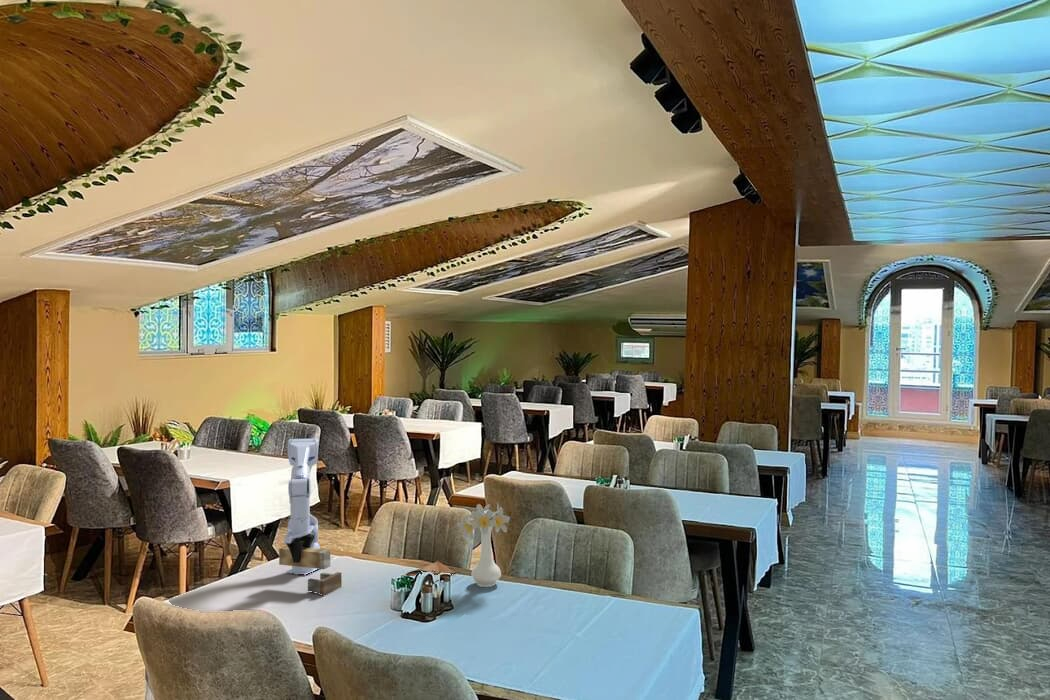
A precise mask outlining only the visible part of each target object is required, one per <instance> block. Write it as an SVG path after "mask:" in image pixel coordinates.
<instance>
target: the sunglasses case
mask: <svg viewBox="0 0 1050 700" xmlns="http://www.w3.org/2000/svg"><path fill="white" fill-rule="evenodd" d="M421 571H423V572H431V573H433V574H434V575H438V574H440V573H442V572H443V573H450V574H451V576H453V575H452V574H454V575H455V574H456V572H455V571H454V570H451V569H450V568H449V567H447V565H445V564H443V563H441V562H440V560H436V561H435V562H433V563H430V564H427V565H425V566H422V567H420V568H417V569H415V570H411V571H408V572H407V573H405V575H407V576H415V575H416V574H417V573H418V572H421Z"/></svg>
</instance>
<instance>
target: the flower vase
mask: <svg viewBox="0 0 1050 700" xmlns="http://www.w3.org/2000/svg"><path fill="white" fill-rule="evenodd" d="M490 505H491V504H490V503H488V504H486V505H485V506H484V508H483V506H482V505H481V503H477V504H476V507H475V508H476V511H474V510H472V511H471V512H470V514H469V518H471V520H470V521H468V520H467V519H466V518H465V517H462V518H461V520H462V522H457V523H456V526H457V527H458V528H459V529H461V530H463V531H462V539H467V537H468V536H469V538H470V539H471V540H472V541H475V536H474V535H475V534H474V530H475V529H480V535H481V536H480V538H481V542H480V544H481V545H480V556H479V560H478V562H477V563H476V564H475V565H474V566H473V568H472V569H471V579H472V580H474V582H475V583H476V586H477V587H480V588H492V587H494V586H496V585H497V582H498V581H499V580H500V577H502V572H501V569H500V567H499V566H498V565H497V564H496V563H495V560H494V558H493V555H492V530H493V527H495V532H496V533H499V531H501V530H502V531H503V532H504V533H507V532H508V527H507V526H506V523H507V524H508V523H509V522H510V519H511V517H510V516H509V515H504V509H503V508H502V506H500V505H499V503H498V502H496V505H497V506H496V507H497V508H496V509H497V510H496V511H492V510H490V507H491V506H490Z"/></svg>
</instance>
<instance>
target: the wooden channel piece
mask: <svg viewBox="0 0 1050 700" xmlns="http://www.w3.org/2000/svg"><path fill="white" fill-rule="evenodd" d="M319 576H320V577H319V578H320V579H318V578H316V579H315V578H309V579H307V592H308V591H312V592H317V593H320V594H322V595H325V596H327V595H329V594H331V593H333V592H335V591H337V590H338V588H339V589H341V588H342V584H343V581H342V580H343V579H342V572H338V571H337V572H335V573H328V572H321V573H320V574H319ZM340 587H341V588H340ZM336 589H337V590H336ZM334 590H335V591H334ZM332 591H333V592H332ZM330 592H331V593H330ZM328 593H329V594H328ZM320 594H319V595H320ZM326 594H327V595H326Z"/></svg>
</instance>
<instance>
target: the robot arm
mask: <svg viewBox="0 0 1050 700" xmlns="http://www.w3.org/2000/svg"><path fill="white" fill-rule="evenodd" d="M287 457H288V462H289V465H290V466H292V468H291V474H290V480H289V481H288V491H287V492H288V499H289V500H288V501H289V504H290V506H289V507H290V509H289V510H290V511H289V515H290V516H289V517H290V518H289V519H288V522H287V528H286V529H287V530H286V531H287V532H286V535H285V536H283V544H286V546H288V548H289V550H290V552H291V555H292V559H293V562H296V563H299V562H300V561H301V551H302V547H304V548H314V549H321V546H320V544H319V543H318V542H319V521H318V519H317V518H316V517H315V516H314V515H312V514H311V513H310V510H311V508H310V507H311V506H310V504H311V503H310V502H311V501H310V500H311V495H312V494H311V491H312V489H311V488H312V487H311V486H312V484H311V483H312V482H311V471H312V467H313V466H316V465H317V464H318V460H319V439H318V438H317V437H314V438H289V439H288V440H287ZM315 570H317V568H307V567H298V566H291V569H289V570H286V573H285V574H292V573H294V574H292V575H298V574H304V575H303V576H307V575H306V573H307V574H308V573H310V572H312V573H314V572H313V571H315ZM317 571H318V570H317ZM315 572H316V571H315ZM310 574H311V573H310ZM308 575H309V574H308Z"/></svg>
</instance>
